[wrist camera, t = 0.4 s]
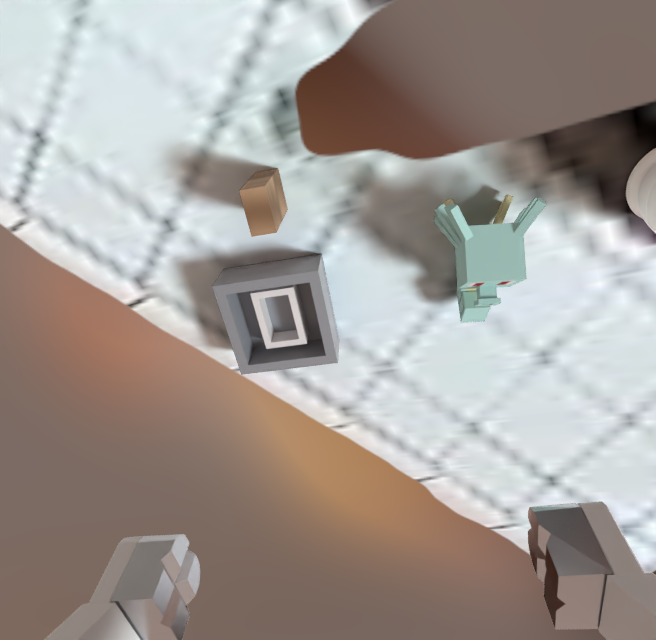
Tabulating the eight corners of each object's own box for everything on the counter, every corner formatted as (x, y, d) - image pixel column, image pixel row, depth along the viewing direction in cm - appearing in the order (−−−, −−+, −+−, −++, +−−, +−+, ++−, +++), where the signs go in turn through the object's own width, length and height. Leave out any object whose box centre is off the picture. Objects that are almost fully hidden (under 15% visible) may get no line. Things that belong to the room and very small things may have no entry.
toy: (446, 322, 57) (433, 332, 43) (440, 210, 57) (424, 184, 42) (538, 317, 54) (556, 327, 40) (532, 199, 53) (548, 166, 39)
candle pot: (223, 269, 56) (212, 286, 52) (321, 253, 55) (318, 270, 50) (249, 352, 62) (241, 374, 58) (339, 340, 60) (337, 362, 56)
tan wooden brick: (255, 172, 51) (239, 190, 44) (278, 168, 50) (265, 185, 43) (265, 213, 53) (251, 236, 46) (287, 209, 52) (276, 232, 45)
